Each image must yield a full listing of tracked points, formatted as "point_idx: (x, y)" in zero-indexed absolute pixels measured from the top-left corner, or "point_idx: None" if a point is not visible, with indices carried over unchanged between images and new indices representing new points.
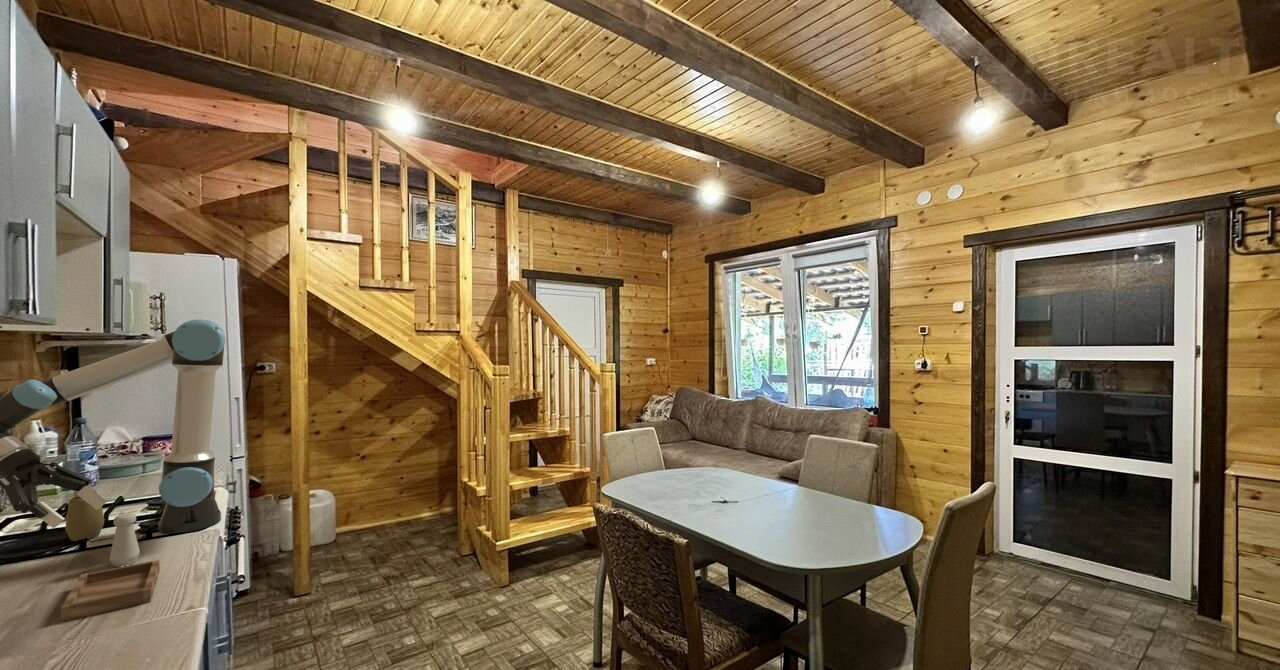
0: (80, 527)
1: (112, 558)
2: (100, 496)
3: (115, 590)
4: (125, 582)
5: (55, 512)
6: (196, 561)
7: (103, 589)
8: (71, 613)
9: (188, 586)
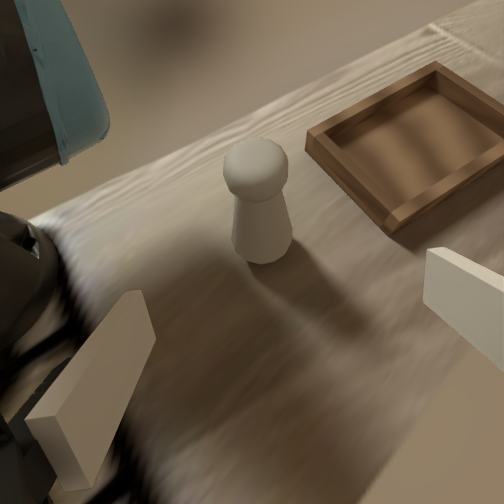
0: None
1: (291, 239)
2: (105, 317)
3: (414, 141)
4: (379, 150)
5: (476, 270)
6: (256, 123)
7: (414, 163)
8: None
9: (363, 72)
